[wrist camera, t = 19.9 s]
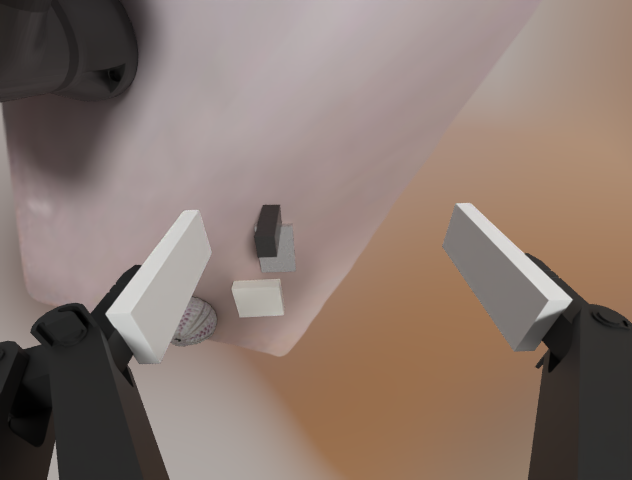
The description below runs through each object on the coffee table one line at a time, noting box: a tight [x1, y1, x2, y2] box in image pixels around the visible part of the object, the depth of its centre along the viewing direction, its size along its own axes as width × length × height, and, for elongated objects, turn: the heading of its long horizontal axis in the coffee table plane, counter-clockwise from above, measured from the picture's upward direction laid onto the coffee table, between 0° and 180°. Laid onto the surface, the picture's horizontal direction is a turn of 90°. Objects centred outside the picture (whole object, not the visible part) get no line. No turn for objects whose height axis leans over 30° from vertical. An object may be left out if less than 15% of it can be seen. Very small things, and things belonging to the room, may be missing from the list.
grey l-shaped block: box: [254, 205, 296, 272], centre depth 49 cm, size 7×15×10 cm, turn 1°
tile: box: [232, 279, 285, 317], centre depth 61 cm, size 10×3×9 cm
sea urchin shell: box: [171, 297, 217, 346], centre depth 61 cm, size 13×14×8 cm
